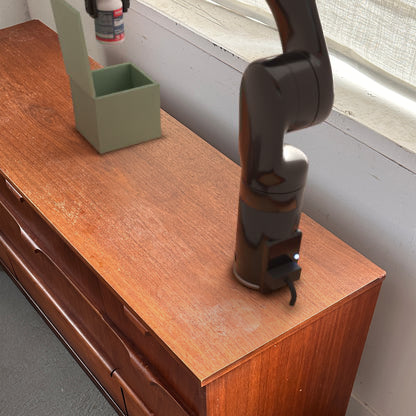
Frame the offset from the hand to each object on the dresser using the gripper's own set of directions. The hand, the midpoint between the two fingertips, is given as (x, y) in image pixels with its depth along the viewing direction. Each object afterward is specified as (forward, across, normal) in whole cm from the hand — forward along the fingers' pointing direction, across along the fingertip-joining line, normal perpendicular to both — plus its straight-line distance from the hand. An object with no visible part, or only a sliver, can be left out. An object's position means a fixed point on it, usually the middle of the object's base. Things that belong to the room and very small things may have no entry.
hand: (108, 13), depth 111 cm
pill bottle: (+5, 0, 0) cm, 5 cm away
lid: (+4, -7, 0) cm, 8 cm away
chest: (+22, 0, 0) cm, 22 cm away
